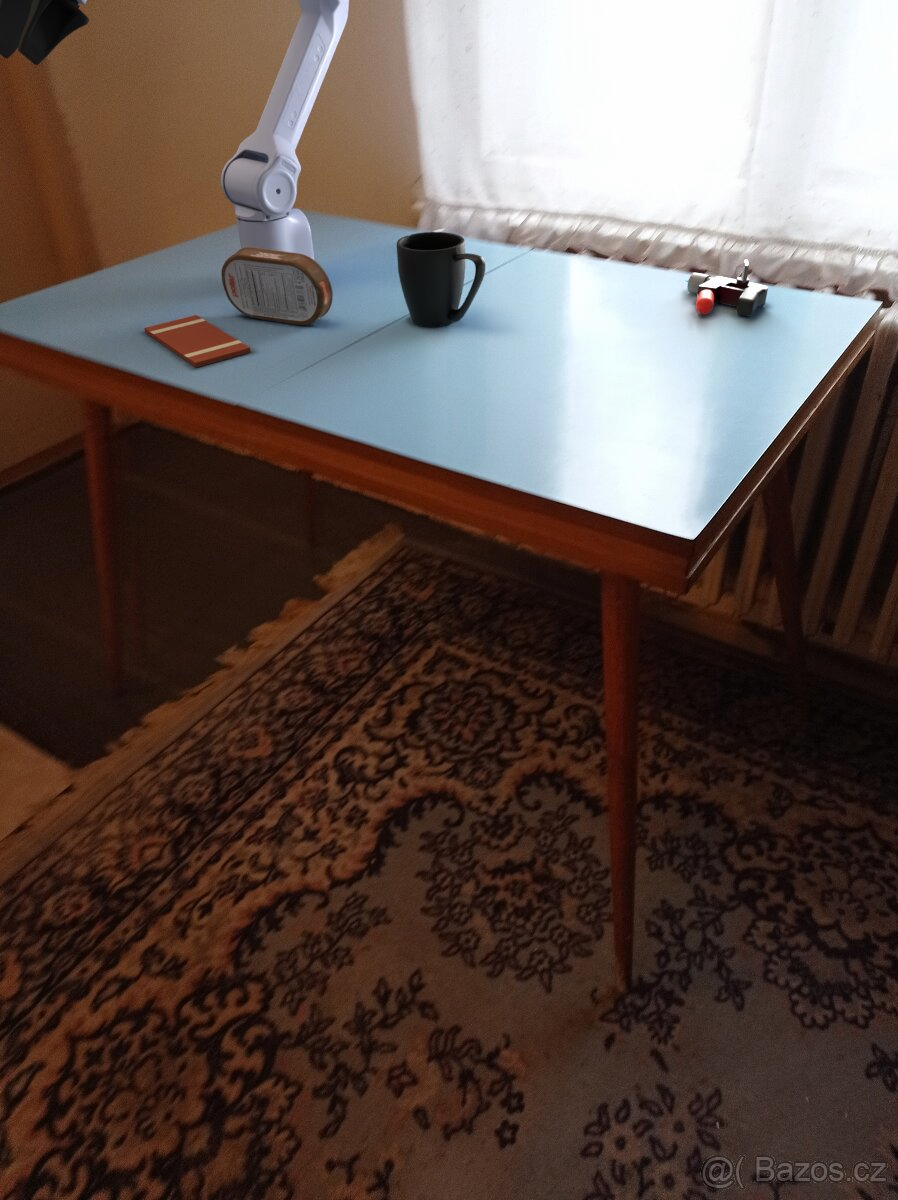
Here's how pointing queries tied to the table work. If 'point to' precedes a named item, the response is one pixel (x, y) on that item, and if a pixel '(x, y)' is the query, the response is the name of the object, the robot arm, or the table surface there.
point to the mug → (436, 277)
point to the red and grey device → (727, 292)
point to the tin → (277, 286)
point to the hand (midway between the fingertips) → (12, 54)
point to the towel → (197, 340)
